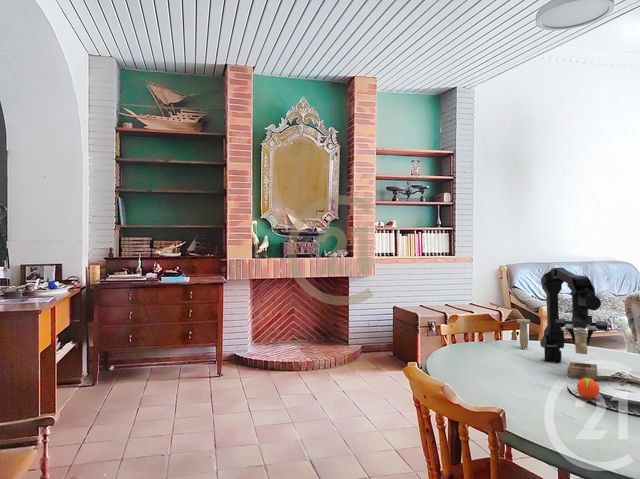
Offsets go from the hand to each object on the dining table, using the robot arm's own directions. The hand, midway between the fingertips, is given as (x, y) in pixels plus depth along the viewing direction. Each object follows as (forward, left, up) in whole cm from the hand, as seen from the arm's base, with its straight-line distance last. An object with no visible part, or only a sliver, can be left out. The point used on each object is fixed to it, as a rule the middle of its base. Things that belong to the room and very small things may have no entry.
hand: (581, 345), depth 191 cm
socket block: (0, +4, -13) cm, 14 cm away
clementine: (+3, -28, -13) cm, 31 cm away
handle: (-28, +43, -13) cm, 53 cm away
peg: (0, 0, -3) cm, 3 cm away
